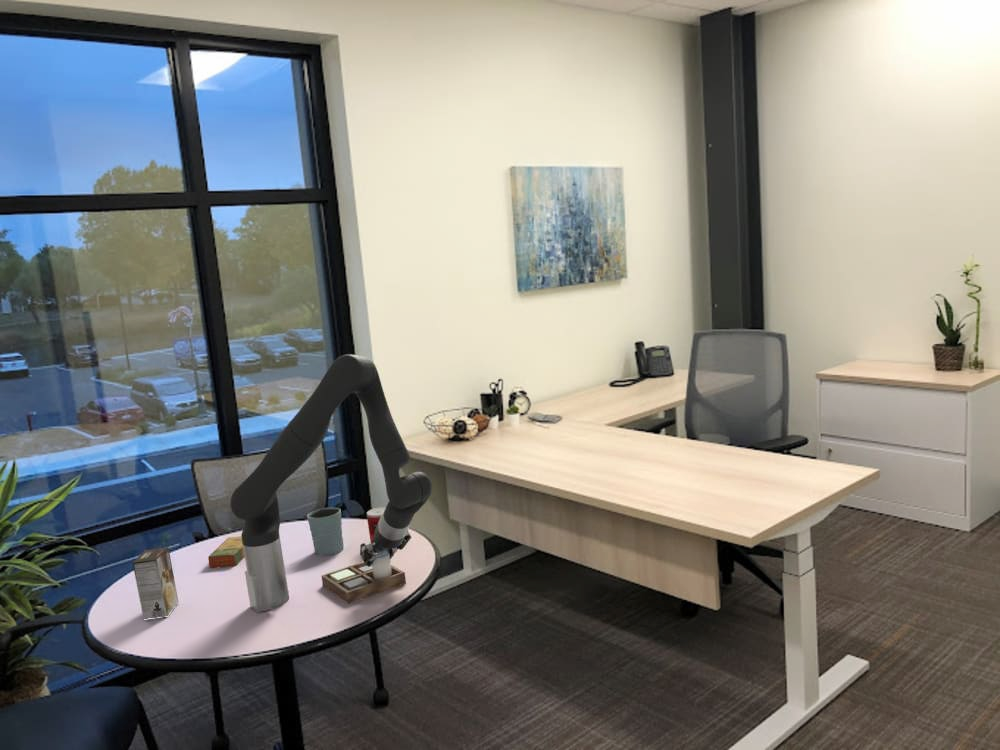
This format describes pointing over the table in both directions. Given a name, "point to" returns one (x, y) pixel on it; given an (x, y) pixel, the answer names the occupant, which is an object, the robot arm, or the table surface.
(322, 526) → the green cup
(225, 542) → the carton
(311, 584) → the table surface
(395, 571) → the organizer
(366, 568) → the grey rectangular block
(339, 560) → the table surface
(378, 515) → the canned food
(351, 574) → the note block
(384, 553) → the glue stick
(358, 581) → the eraser
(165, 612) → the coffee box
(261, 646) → the table surface
